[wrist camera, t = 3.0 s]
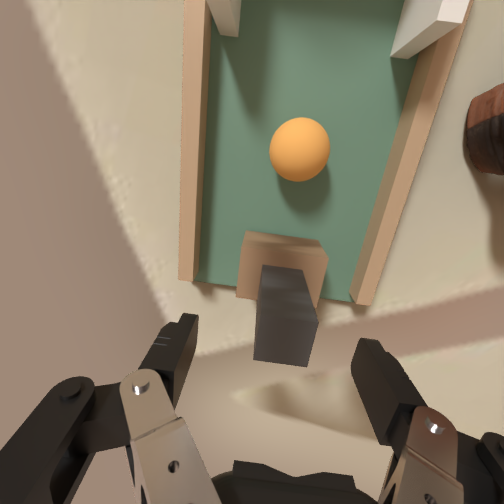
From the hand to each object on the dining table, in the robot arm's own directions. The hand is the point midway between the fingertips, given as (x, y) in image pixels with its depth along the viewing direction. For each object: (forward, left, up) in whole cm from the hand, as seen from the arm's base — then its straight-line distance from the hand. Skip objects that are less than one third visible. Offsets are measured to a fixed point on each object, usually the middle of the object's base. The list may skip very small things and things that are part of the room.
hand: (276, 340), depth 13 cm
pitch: (0, -10, -11) cm, 15 cm away
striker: (0, 0, -10) cm, 10 cm away
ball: (0, -9, -8) cm, 12 cm away
